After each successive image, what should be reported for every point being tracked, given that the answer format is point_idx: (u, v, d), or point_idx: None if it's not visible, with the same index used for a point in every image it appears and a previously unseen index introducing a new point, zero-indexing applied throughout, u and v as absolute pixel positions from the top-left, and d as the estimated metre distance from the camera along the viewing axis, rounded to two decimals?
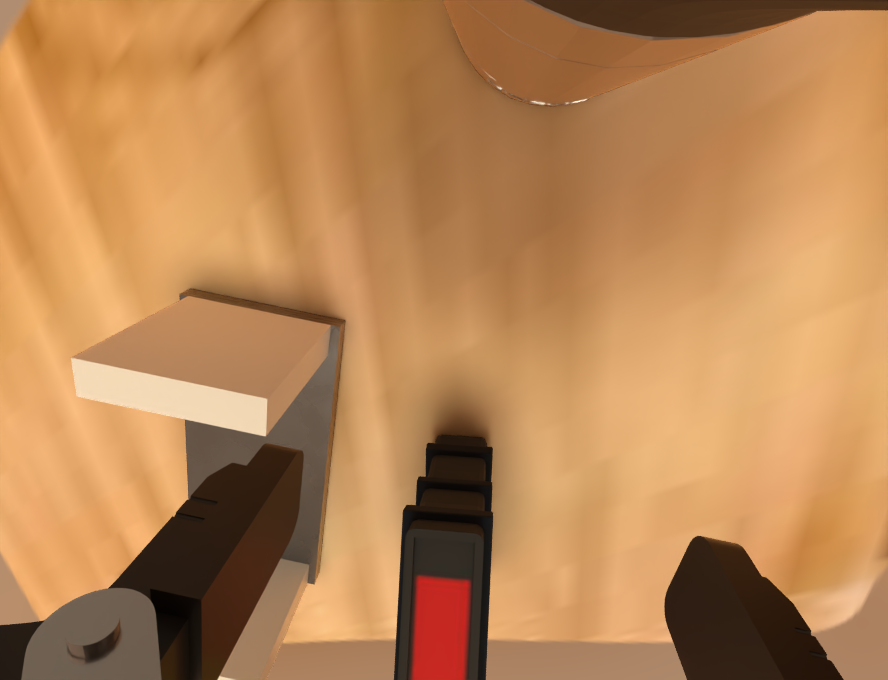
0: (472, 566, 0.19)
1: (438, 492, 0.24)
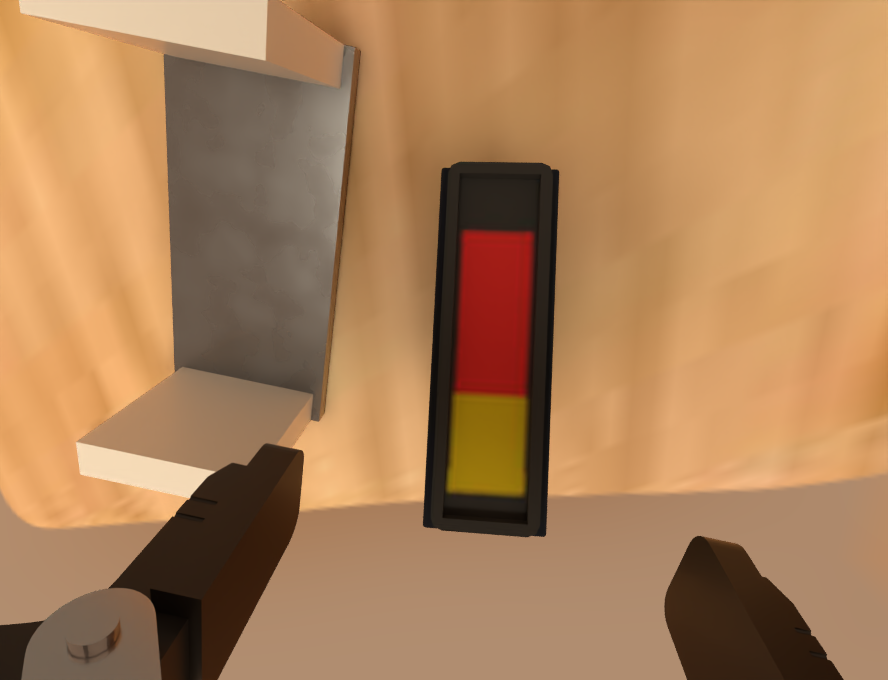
0: (536, 213, 0.15)
1: None
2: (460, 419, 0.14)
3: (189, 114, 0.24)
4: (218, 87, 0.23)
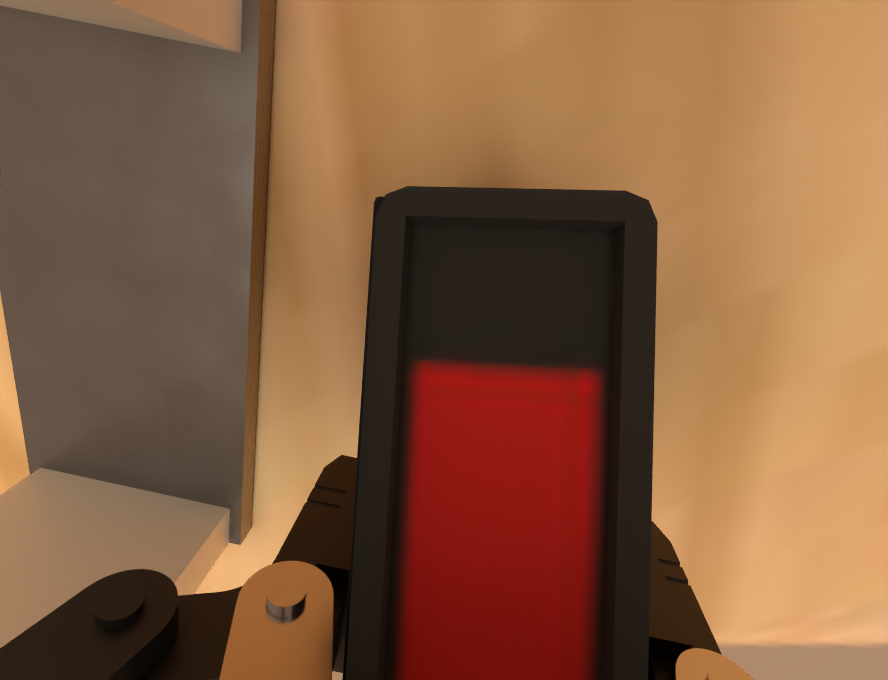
0: (608, 321, 0.06)
1: None
2: None
3: (5, 96, 0.15)
4: (45, 51, 0.14)
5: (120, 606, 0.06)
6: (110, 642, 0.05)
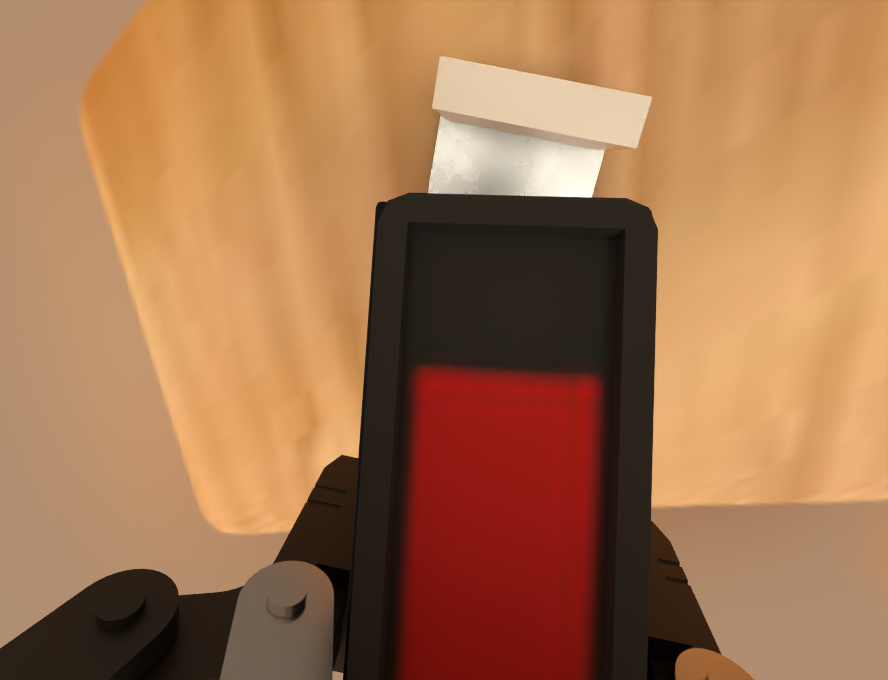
0: (609, 328, 0.06)
1: None
2: None
3: (453, 169, 0.27)
4: (484, 147, 0.27)
5: (120, 605, 0.06)
6: (111, 642, 0.05)
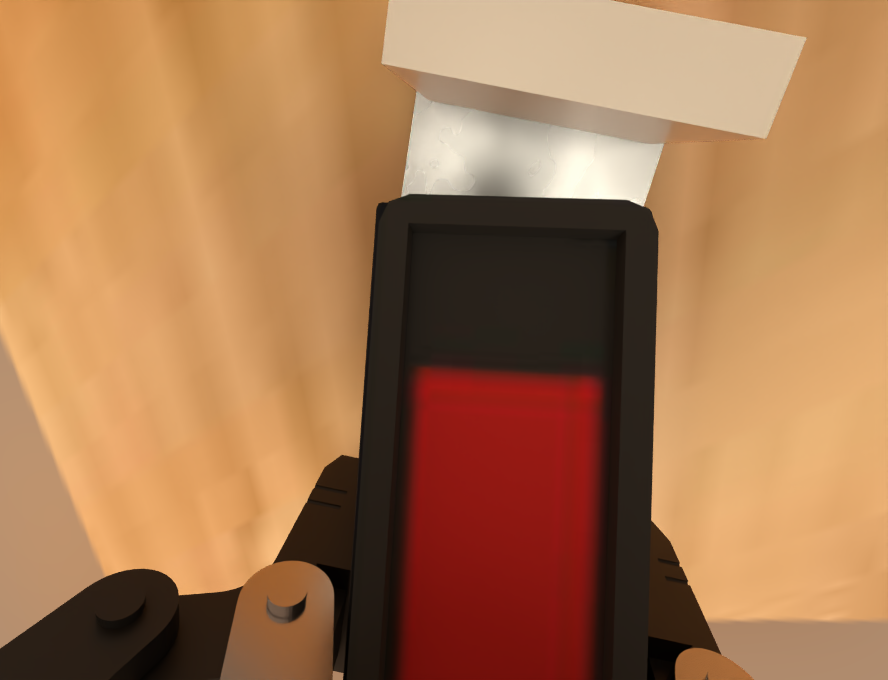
0: (609, 329, 0.06)
1: None
2: None
3: (436, 173, 0.18)
4: (482, 140, 0.18)
5: (121, 606, 0.06)
6: (111, 642, 0.05)
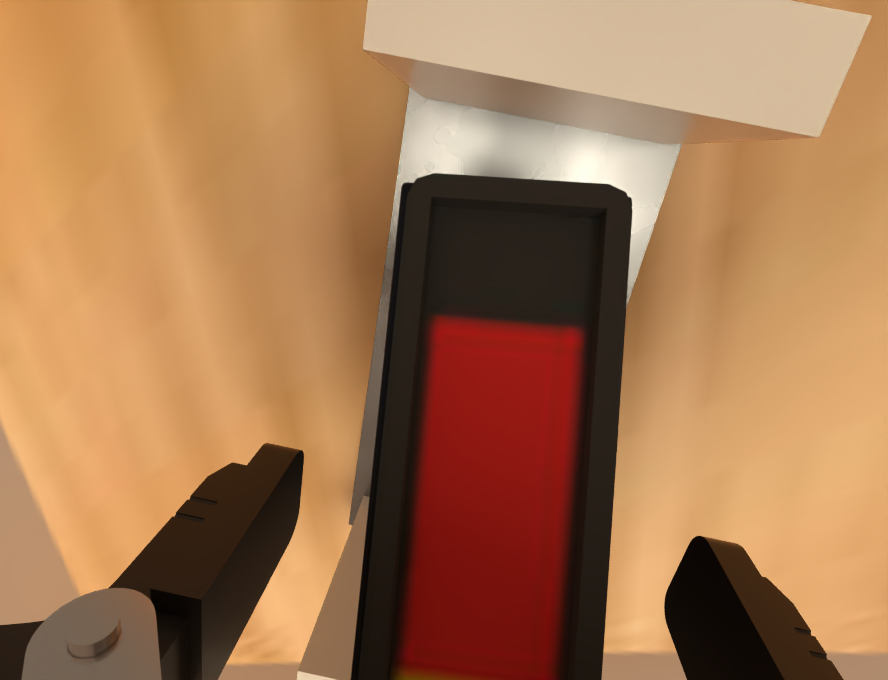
0: (590, 289, 0.07)
1: None
2: None
3: None
4: (482, 140, 0.16)
5: None
6: None
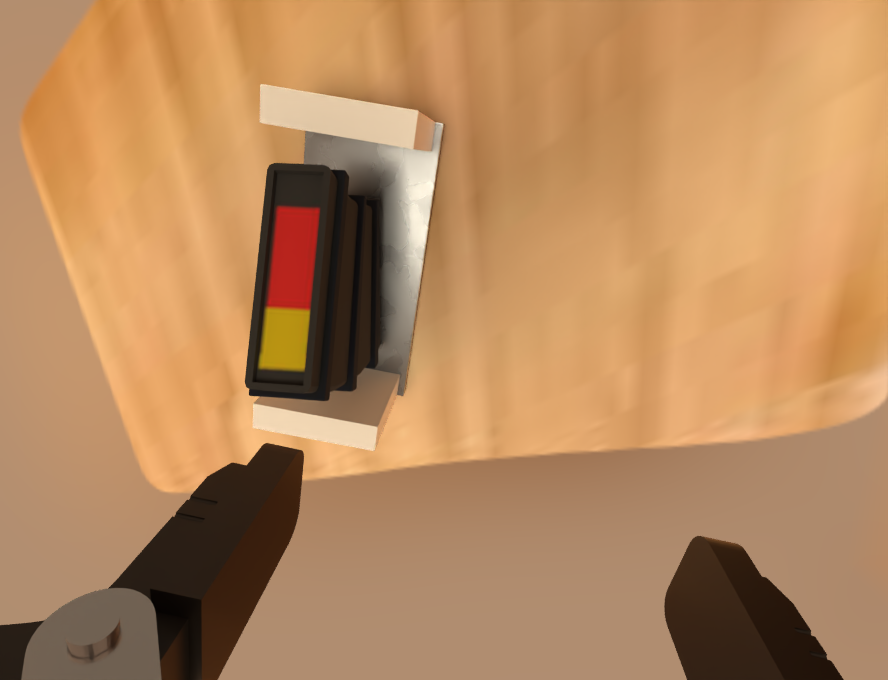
0: None
1: None
2: (269, 323, 0.23)
3: None
4: (343, 151, 0.33)
5: None
6: None
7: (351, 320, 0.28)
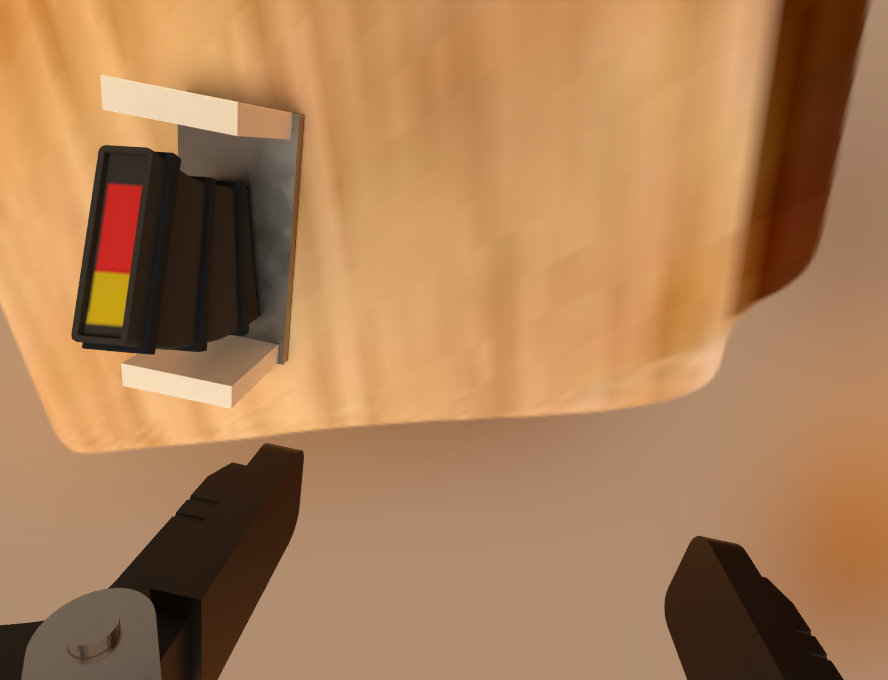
0: None
1: None
2: (97, 285, 0.26)
3: (194, 154, 0.36)
4: (212, 137, 0.36)
5: None
6: None
7: (198, 288, 0.32)
